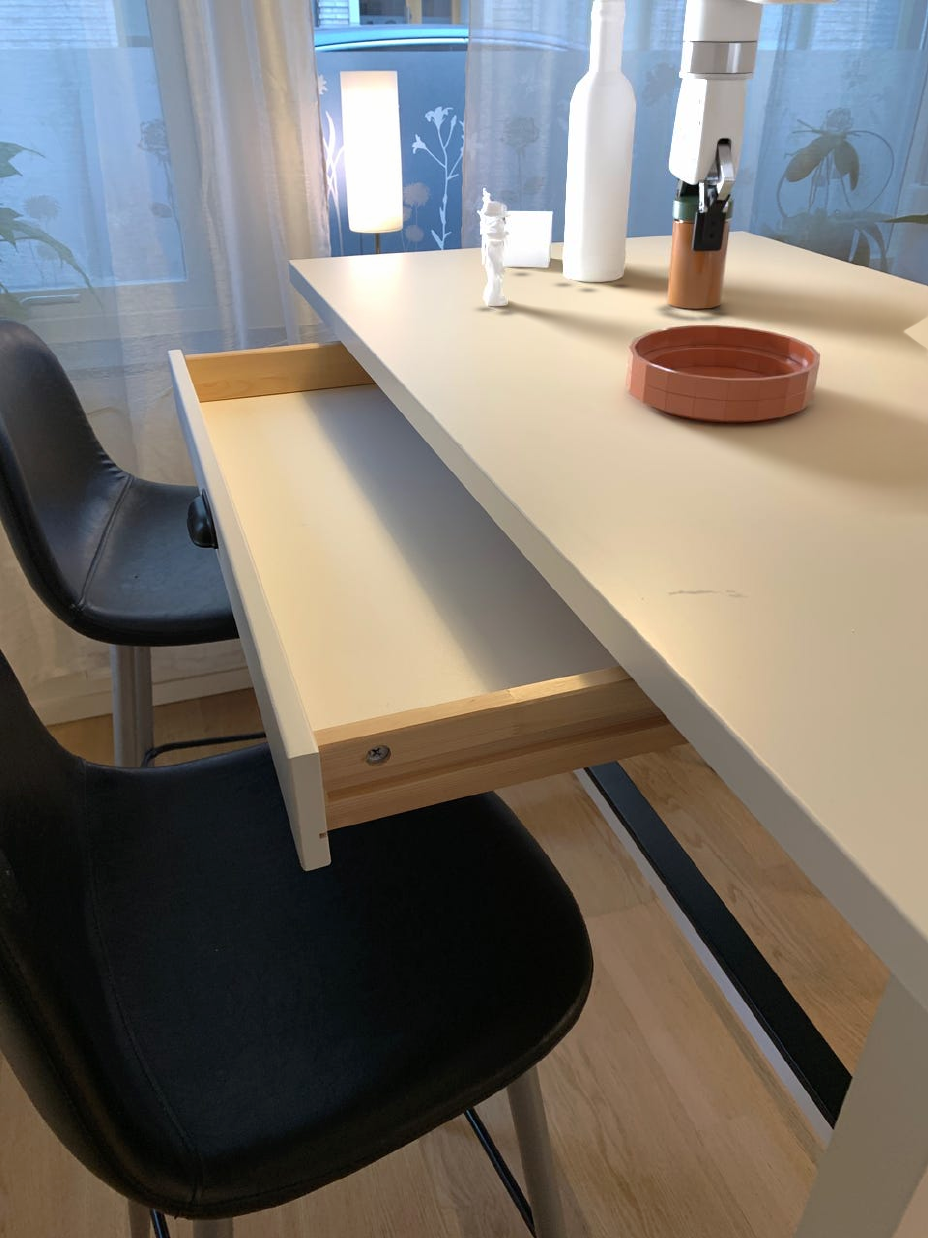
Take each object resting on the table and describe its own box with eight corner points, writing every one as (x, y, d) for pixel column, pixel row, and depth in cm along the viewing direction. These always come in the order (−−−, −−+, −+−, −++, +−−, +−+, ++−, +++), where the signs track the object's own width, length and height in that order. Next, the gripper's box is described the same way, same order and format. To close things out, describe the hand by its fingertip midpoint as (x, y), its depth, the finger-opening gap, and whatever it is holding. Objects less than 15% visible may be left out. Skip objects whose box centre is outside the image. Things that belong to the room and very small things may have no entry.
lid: (664, 213, 112) (666, 196, 111) (720, 210, 113) (722, 193, 112) (682, 222, 106) (683, 204, 105) (740, 219, 107) (742, 202, 106)
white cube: (503, 266, 131) (503, 218, 128) (507, 257, 136) (507, 210, 133) (548, 267, 130) (550, 219, 127) (550, 257, 135) (552, 211, 132)
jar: (714, 295, 117) (724, 199, 111) (726, 307, 112) (737, 207, 106) (662, 296, 117) (670, 201, 112) (672, 309, 112) (680, 209, 106)
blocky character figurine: (475, 292, 119) (475, 185, 113) (508, 291, 119) (509, 184, 113) (479, 312, 112) (479, 198, 105) (514, 311, 112) (516, 198, 105)
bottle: (550, 277, 126) (561, -1, 110) (580, 265, 131) (594, -1, 115) (606, 285, 122) (625, -1, 106) (634, 273, 127) (657, -1, 111)
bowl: (782, 366, 94) (789, 324, 92) (836, 427, 80) (846, 379, 78) (615, 367, 94) (618, 325, 92) (640, 428, 81) (645, 380, 78)
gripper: (659, 57, 108) (643, 228, 118) (709, 66, 94) (686, 261, 103) (725, 56, 109) (703, 227, 119) (785, 66, 94) (755, 259, 104)
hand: (696, 241), depth 111 cm, fingers closed on lid, 6 cm apart
